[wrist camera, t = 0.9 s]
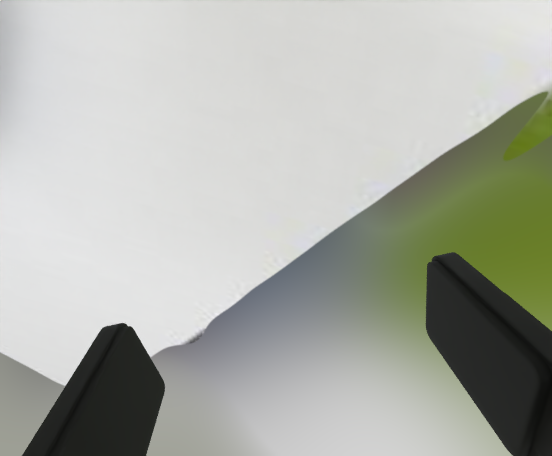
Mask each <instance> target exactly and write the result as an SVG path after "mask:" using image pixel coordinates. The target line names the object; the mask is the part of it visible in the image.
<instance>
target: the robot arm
mask: <svg viewBox="0 0 552 456" xmlns="http://www.w3.org/2000/svg"><path fill="white" fill-rule="evenodd" d="M426 298H427V299H426V330H427V333H428V336H429V337H430V339H431V341H432V342H433V343H434V345H435V346H436V347H437V349H438V351H439V352H440V354H441V355H442V356H443V358H444V359H445V361H446V362H447V364H448V365H449V367H450V368H451V369H452V371H453V372H454V374H455V375H456V377H457V378H458V379H459V381H460V382H461V384H462V385H463V387H464V388H465V390H466V391H467V392H468V394H469V395H470V397H471V398H472V400H473V401H474V403H475V404H476V405H477V407H478V408H479V410H480V411H481V413H482V414H483V415H484V417H485V418H486V420H487V421H488V422H489V424H490V425H491V427H492V428H493V430H494V431H495V433H496V434H497V435H498V437H499V439H500V440H501V441H502V443H503V444H504V446H505V447H506V448H507V450H508V451H509V452H510V453H511V454H512V455H513V456H552V331H551V330H549V329H548V328H547V327H546V326H545V325H543V324H542V323H541V322H540V321H539V320H537V319H536V318H535V317H534V316H533V315H531V314H530V313H529V312H528V311H526V310H525V309H524V308H523V307H522V306H520V305H519V304H518V303H517V302H516V301H514V300H513V299H512V298H511V297H510V296H508V295H507V294H505V293H504V292H503V291H501V290H500V289H499V288H498V287H497V286H495V285H494V284H493V283H492V282H491V281H489V280H488V279H487V278H486V277H484V276H483V275H482V274H481V273H480V272H479V271H477V270H476V269H475V268H474V267H472V266H471V265H470V264H469V263H468V262H466V261H465V260H464V259H463V258H462V257H460V256H459V255H458V254H456V253H453V252H452V253H447V254H443V255H438V256H434V257H433V259H432V262H429V263H428V264H427V296H426ZM164 391H165V384H164V381H163V379H162V377H161V376H160V374H159V372H158V370H157V369H156V367H155V365H154V363H153V362H152V360H151V358H150V357H149V355H148V353H147V351H146V350H145V348H144V346H143V345H142V343H141V341H140V339H139V338H138V336H137V334H136V333H135V331H134V329H133V328H132V327H130V326H129V327H128V326H127V325H126V324H125V323H120V324H116V325H111V326H106V327H104V328H102V330H101V331H100V332H99V334H98V335H97V337H96V339H95V340H94V342H93V343H92V345H91V347H90V348H89V350H88V351H87V353H86V355H85V356H84V358H83V359H82V361H81V363H80V364H79V366H78V367H77V369H76V371H75V372H74V374H73V375H72V377H71V378H70V380H69V382H68V383H67V385H66V386H65V388H64V390H63V391H62V393H61V394H60V396H59V398H58V399H57V401H56V402H55V404H54V406H53V407H52V409H51V410H50V412H49V414H48V415H47V417H46V419H45V420H44V422H43V423H42V425H41V426H40V428H39V430H38V431H37V433H36V434H35V436H34V438H33V439H32V441H31V443H30V444H29V445H28V447H27V449H26V450H25V452H24V454H23V455H22V456H146V454H147V450H148V447H149V443H150V440H151V436H152V433H153V429H154V426H155V423H156V419H157V416H158V413H159V409H160V406H161V402H162V399H163V396H164Z"/></svg>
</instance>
